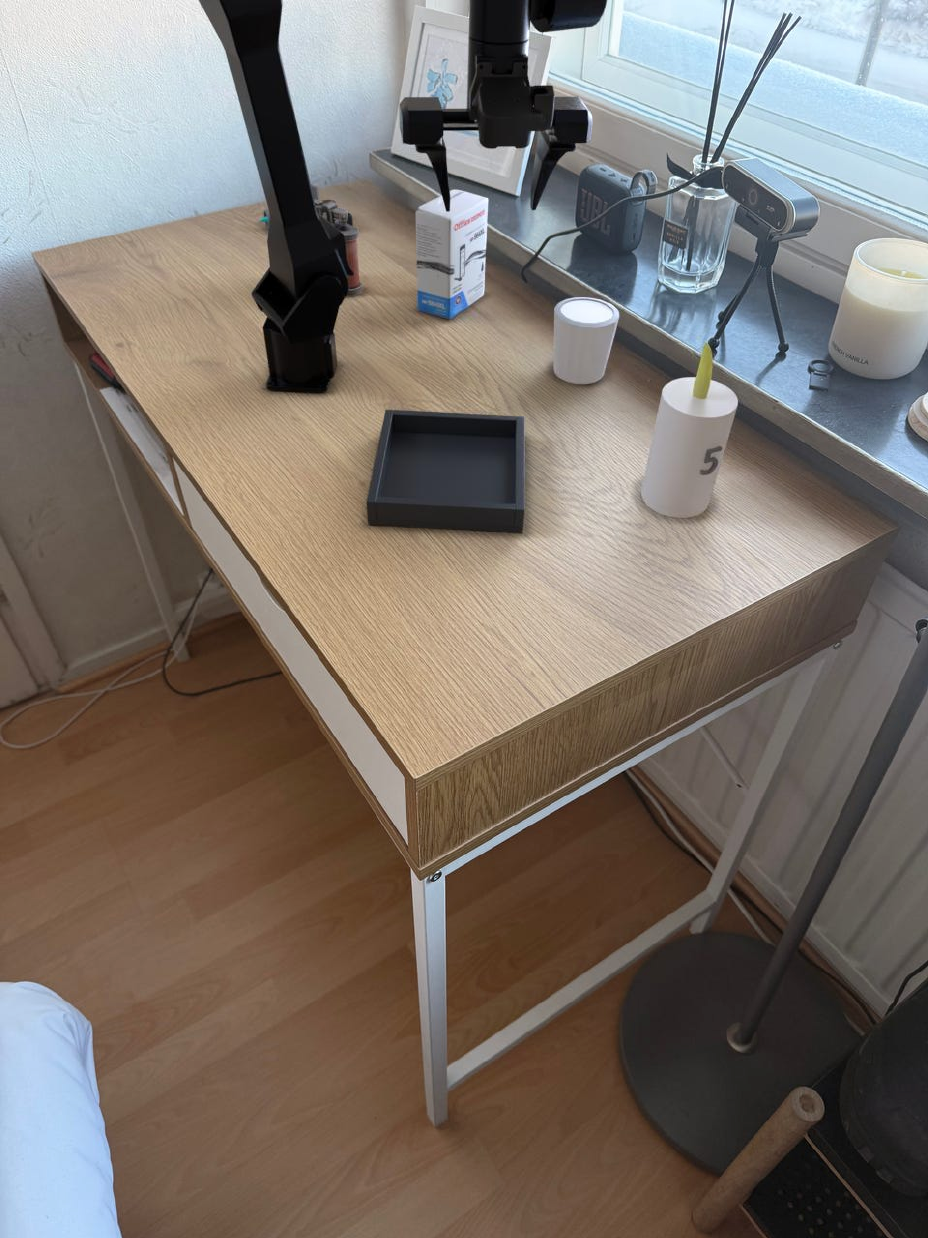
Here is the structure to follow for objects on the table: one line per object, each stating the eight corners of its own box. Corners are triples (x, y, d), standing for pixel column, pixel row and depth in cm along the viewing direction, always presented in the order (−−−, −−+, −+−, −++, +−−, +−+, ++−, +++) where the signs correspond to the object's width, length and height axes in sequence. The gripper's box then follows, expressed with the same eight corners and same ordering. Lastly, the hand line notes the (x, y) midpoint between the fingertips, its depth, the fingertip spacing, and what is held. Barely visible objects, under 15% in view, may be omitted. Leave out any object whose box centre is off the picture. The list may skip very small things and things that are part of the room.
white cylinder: (607, 390, 93) (617, 329, 88) (543, 382, 94) (550, 321, 89) (612, 359, 98) (622, 299, 93) (551, 351, 99) (558, 292, 94)
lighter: (367, 289, 108) (362, 206, 101) (350, 299, 106) (344, 215, 99) (316, 272, 111) (309, 190, 104) (299, 282, 109) (290, 199, 102)
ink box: (449, 321, 103) (450, 219, 95) (414, 310, 105) (413, 209, 96) (486, 294, 108) (491, 195, 100) (453, 284, 110) (454, 186, 102)
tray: (367, 525, 76) (366, 501, 74) (386, 431, 87) (385, 409, 85) (522, 533, 76) (524, 509, 74) (522, 438, 86) (524, 416, 84)
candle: (667, 526, 77) (705, 375, 67) (627, 485, 81) (657, 336, 71) (724, 508, 79) (770, 359, 68) (683, 469, 83) (720, 322, 73)
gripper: (405, 59, 75) (408, 242, 86) (616, 59, 77) (592, 238, 88) (397, 28, 82) (401, 199, 94) (588, 29, 84) (570, 197, 96)
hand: (490, 209), depth 92 cm, fingers open, 9 cm apart
